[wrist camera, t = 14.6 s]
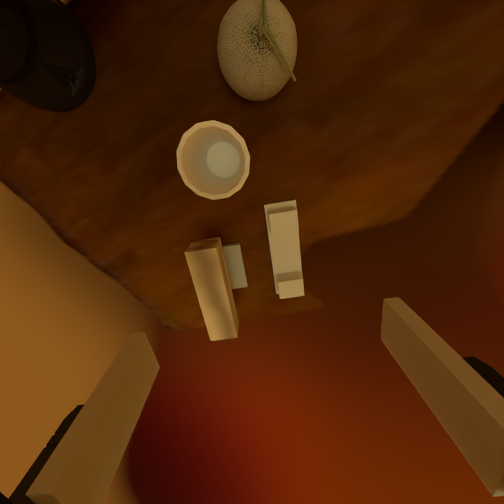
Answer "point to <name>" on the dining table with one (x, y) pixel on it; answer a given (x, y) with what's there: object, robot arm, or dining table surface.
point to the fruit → (257, 48)
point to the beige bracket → (285, 247)
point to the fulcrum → (235, 265)
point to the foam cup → (213, 160)
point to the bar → (213, 287)
